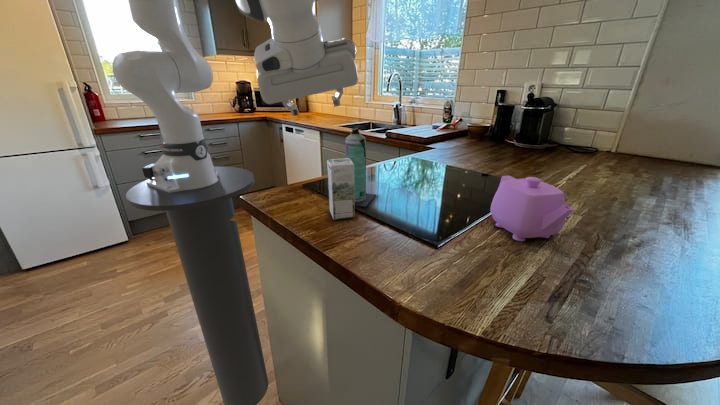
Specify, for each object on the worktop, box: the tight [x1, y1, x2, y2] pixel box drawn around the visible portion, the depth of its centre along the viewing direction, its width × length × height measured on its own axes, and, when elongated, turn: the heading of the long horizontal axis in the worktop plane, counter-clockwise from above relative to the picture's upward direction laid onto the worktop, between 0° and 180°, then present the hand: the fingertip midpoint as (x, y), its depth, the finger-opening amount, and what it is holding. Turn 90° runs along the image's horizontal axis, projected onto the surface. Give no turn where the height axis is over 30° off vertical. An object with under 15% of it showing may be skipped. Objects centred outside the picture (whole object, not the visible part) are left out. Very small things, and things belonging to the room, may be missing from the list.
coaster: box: [355, 193, 377, 209], centre depth 86 cm, size 9×9×1 cm
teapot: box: [489, 174, 574, 242], centre depth 66 cm, size 20×12×13 cm, turn 12°
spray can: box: [344, 127, 367, 202], centre depth 82 cm, size 6×6×20 cm
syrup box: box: [326, 157, 356, 221], centre depth 75 cm, size 6×6×14 cm
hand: (316, 109), depth 66 cm, fingers open, 8 cm apart
